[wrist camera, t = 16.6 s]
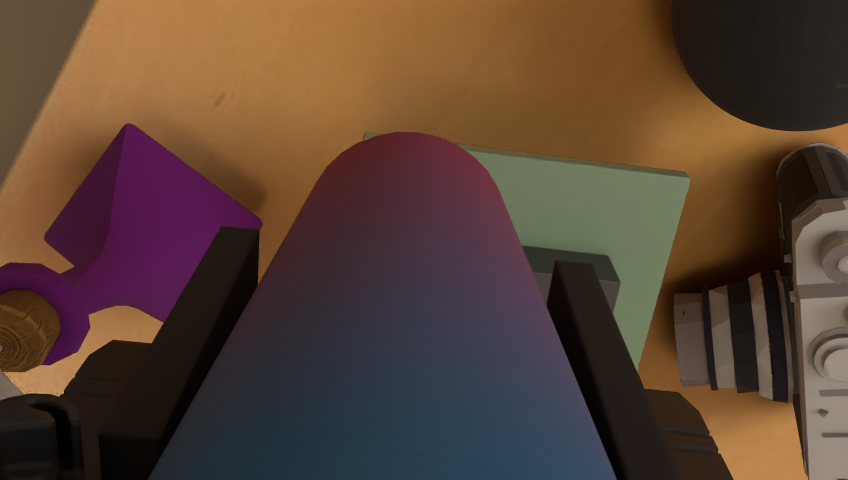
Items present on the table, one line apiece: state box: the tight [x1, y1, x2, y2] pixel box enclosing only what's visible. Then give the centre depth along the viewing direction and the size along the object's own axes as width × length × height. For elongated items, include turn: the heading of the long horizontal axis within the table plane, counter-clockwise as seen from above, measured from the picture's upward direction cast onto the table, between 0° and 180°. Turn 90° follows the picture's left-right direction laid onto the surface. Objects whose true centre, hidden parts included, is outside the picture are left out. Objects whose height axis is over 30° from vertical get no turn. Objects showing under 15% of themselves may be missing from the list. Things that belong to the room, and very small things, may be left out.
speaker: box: [671, 0, 848, 131], centre depth 31 cm, size 10×10×10 cm
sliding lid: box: [363, 132, 691, 370], centre depth 33 cm, size 13×13×3 cm
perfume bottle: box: [0, 123, 263, 401], centre depth 32 cm, size 8×8×18 cm
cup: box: [148, 132, 617, 480], centre depth 13 cm, size 7×7×15 cm
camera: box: [674, 142, 848, 480], centre depth 38 cm, size 16×9×10 cm, turn 13°
